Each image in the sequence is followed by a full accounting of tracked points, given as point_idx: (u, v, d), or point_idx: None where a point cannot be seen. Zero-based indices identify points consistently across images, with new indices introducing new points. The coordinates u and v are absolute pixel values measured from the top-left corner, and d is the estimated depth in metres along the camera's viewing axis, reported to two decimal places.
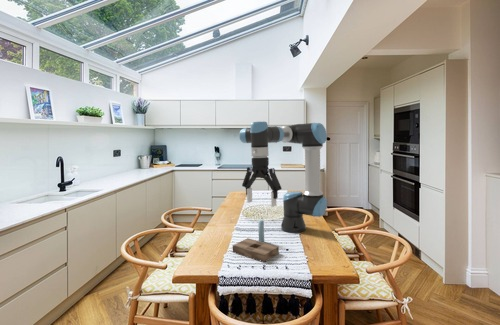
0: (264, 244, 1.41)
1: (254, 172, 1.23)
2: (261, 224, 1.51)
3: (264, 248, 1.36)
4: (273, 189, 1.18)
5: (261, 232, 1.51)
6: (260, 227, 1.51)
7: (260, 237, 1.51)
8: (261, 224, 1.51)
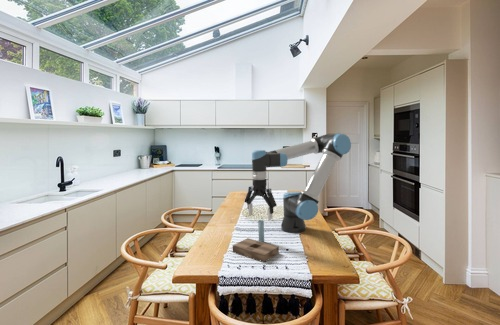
0: (264, 244, 1.41)
1: (254, 191, 1.50)
2: (261, 224, 1.51)
3: (264, 248, 1.36)
4: (270, 206, 1.45)
5: (261, 232, 1.51)
6: (260, 227, 1.51)
7: (260, 237, 1.51)
8: (261, 224, 1.51)
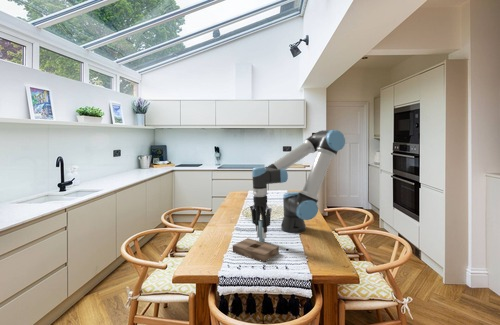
0: (264, 244, 1.41)
1: (256, 208, 1.51)
2: (261, 224, 1.51)
3: (264, 248, 1.36)
4: (264, 225, 1.49)
5: (261, 232, 1.51)
6: (260, 227, 1.51)
7: (260, 237, 1.52)
8: (261, 224, 1.51)
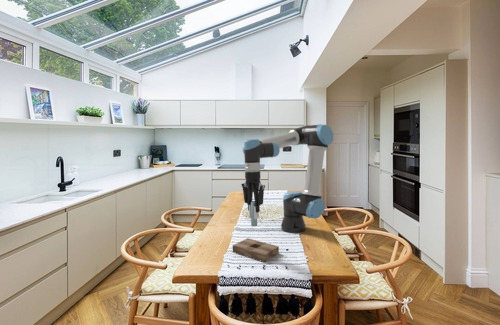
0: (264, 244, 1.41)
1: (248, 185, 1.36)
2: None
3: (264, 248, 1.36)
4: (256, 204, 1.34)
5: None
6: (252, 208, 1.36)
7: (252, 220, 1.36)
8: (253, 206, 1.36)
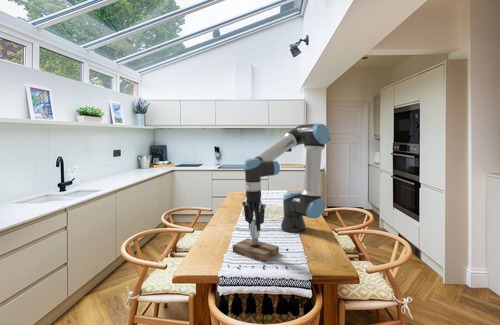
0: (264, 244, 1.41)
1: (248, 204, 1.36)
2: (254, 224, 1.36)
3: (264, 248, 1.36)
4: (257, 223, 1.35)
5: (254, 233, 1.37)
6: (253, 227, 1.37)
7: (253, 238, 1.37)
8: (254, 224, 1.36)
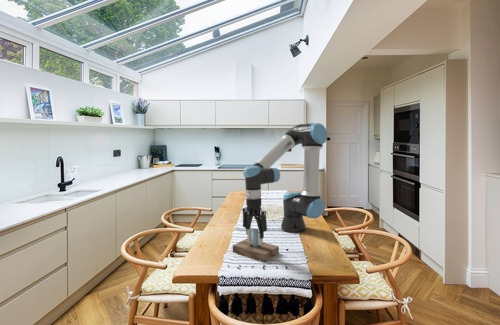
0: (264, 244, 1.41)
1: (248, 211, 1.37)
2: (255, 233, 1.37)
3: (264, 248, 1.36)
4: (260, 230, 1.34)
5: (255, 242, 1.37)
6: (254, 236, 1.37)
7: (254, 247, 1.38)
8: (255, 234, 1.37)
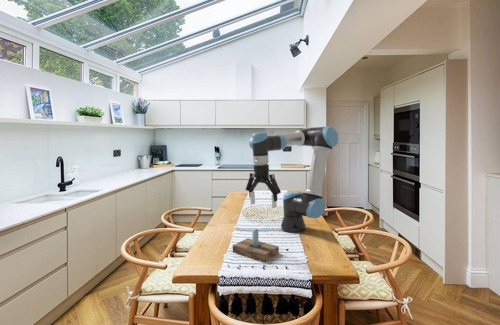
0: (264, 244, 1.41)
1: (256, 178, 1.38)
2: (255, 233, 1.37)
3: (264, 248, 1.36)
4: (273, 193, 1.33)
5: (255, 242, 1.37)
6: (254, 236, 1.37)
7: (254, 247, 1.38)
8: (255, 234, 1.37)
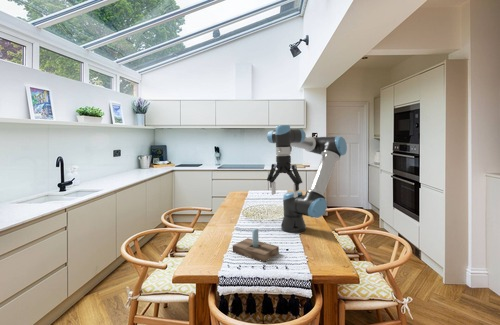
0: (264, 244, 1.41)
1: (278, 168, 1.44)
2: (255, 233, 1.37)
3: (264, 248, 1.36)
4: (295, 182, 1.39)
5: (255, 242, 1.37)
6: (254, 236, 1.37)
7: (254, 247, 1.38)
8: (255, 234, 1.37)
